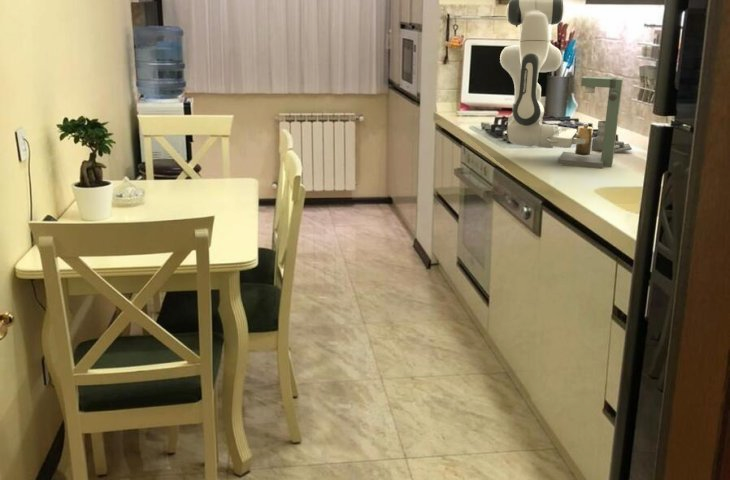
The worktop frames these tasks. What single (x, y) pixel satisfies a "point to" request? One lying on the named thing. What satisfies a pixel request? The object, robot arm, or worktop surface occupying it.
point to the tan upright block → (587, 134)
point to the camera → (598, 141)
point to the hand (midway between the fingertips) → (586, 139)
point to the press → (610, 125)
